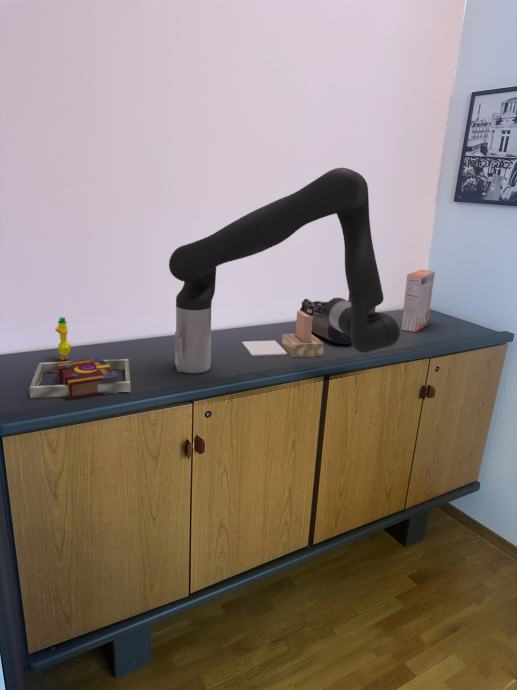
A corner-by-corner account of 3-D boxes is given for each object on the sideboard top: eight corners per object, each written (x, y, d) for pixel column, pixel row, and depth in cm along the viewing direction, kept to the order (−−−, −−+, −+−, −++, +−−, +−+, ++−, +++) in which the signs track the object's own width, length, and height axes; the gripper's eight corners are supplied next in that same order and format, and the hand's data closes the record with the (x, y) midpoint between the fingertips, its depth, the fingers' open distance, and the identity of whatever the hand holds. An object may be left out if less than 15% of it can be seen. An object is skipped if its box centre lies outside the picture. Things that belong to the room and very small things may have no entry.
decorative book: (69, 401, 115) (68, 381, 113) (55, 378, 128) (53, 359, 126) (119, 393, 121) (118, 373, 119) (100, 371, 134) (100, 353, 132)
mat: (252, 356, 150) (252, 354, 150) (241, 342, 162) (242, 341, 162) (287, 354, 153) (287, 353, 153) (274, 341, 165) (275, 340, 165)
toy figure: (52, 357, 141) (49, 315, 138) (65, 354, 144) (62, 313, 140) (62, 363, 137) (59, 320, 133) (75, 361, 139) (72, 318, 135)
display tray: (30, 398, 115) (29, 388, 114) (40, 371, 130) (39, 362, 130) (130, 392, 120) (130, 382, 120) (128, 367, 136) (128, 358, 135)
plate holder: (293, 357, 150) (294, 344, 149) (281, 346, 160) (282, 334, 159) (322, 356, 153) (323, 343, 152) (309, 345, 163) (310, 333, 162)
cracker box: (412, 322, 197) (420, 269, 190) (428, 325, 193) (436, 271, 187) (399, 330, 186) (406, 273, 179) (415, 333, 182) (423, 275, 176)
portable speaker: (292, 328, 181) (294, 301, 178) (315, 325, 186) (317, 299, 183) (336, 349, 160) (339, 318, 157) (360, 345, 165) (363, 315, 162)
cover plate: (302, 355, 153) (305, 316, 150) (294, 347, 160) (297, 310, 156) (309, 354, 154) (312, 316, 150) (301, 347, 160) (304, 310, 157)
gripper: (370, 300, 128) (343, 288, 143) (318, 302, 124) (296, 289, 139) (368, 329, 130) (341, 314, 145) (316, 331, 126) (294, 315, 141)
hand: (319, 301), depth 142 cm, fingers open, 8 cm apart
